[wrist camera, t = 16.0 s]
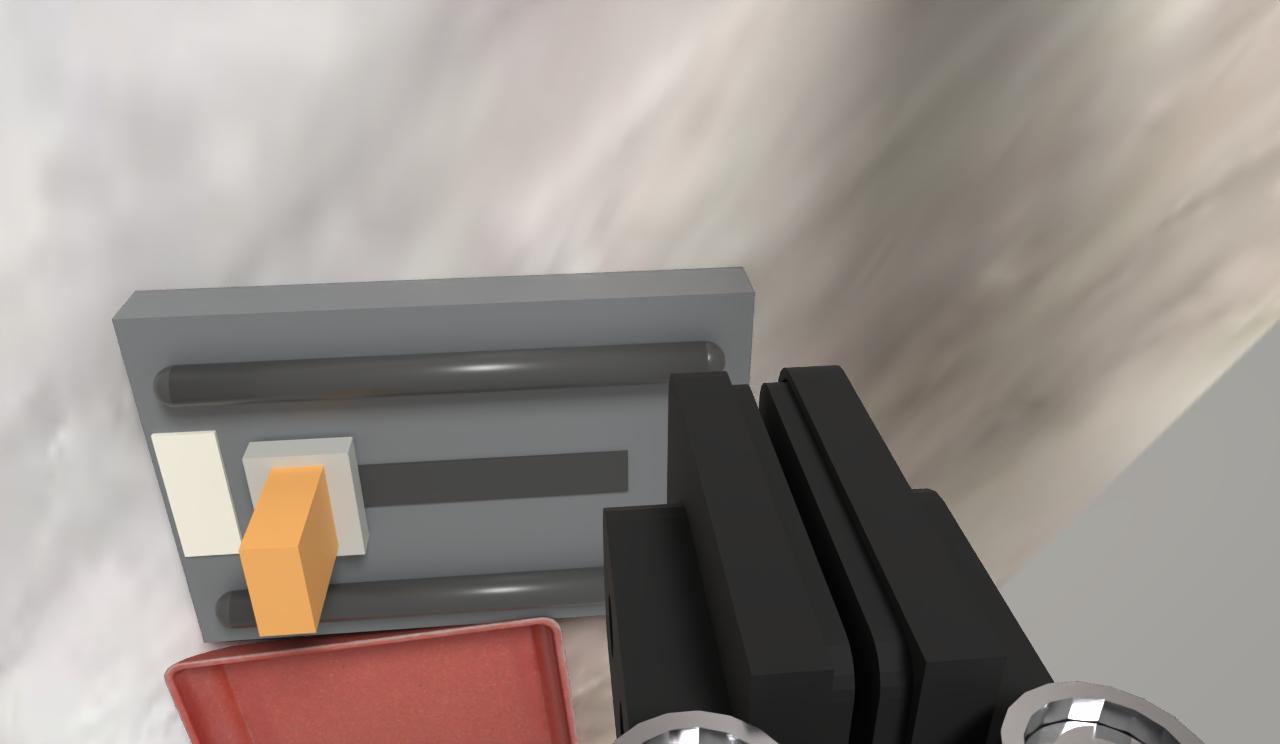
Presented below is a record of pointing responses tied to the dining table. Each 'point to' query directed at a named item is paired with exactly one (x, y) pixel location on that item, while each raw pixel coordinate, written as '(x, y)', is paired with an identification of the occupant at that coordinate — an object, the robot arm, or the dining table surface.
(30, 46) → the dining table surface
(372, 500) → the switch panel
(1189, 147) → the dining table surface
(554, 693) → the plant saucer
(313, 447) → the breaker lever
